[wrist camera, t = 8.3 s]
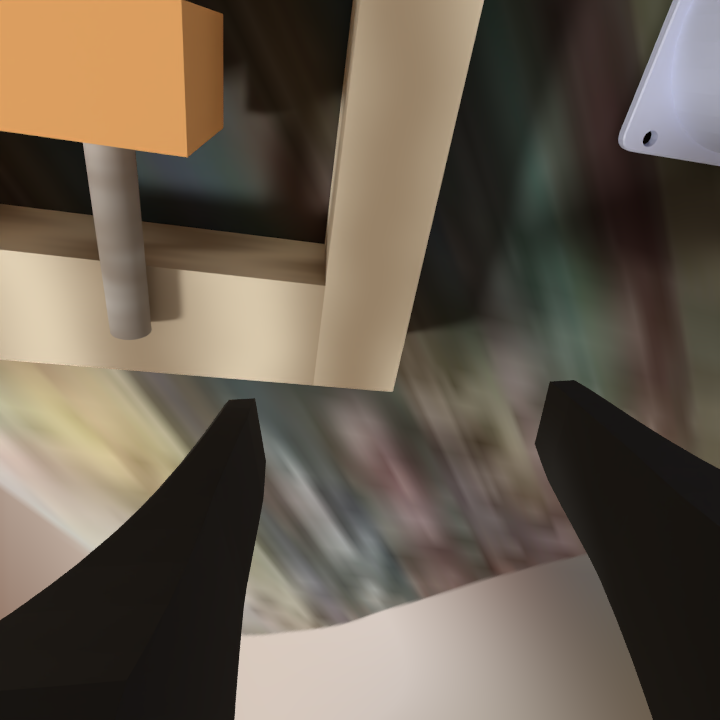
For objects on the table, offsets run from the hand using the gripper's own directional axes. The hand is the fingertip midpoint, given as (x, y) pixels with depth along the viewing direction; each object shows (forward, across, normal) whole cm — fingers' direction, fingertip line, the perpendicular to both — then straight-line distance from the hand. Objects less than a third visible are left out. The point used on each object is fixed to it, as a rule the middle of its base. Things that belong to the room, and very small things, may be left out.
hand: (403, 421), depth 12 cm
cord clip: (+8, +7, -8) cm, 13 cm away
